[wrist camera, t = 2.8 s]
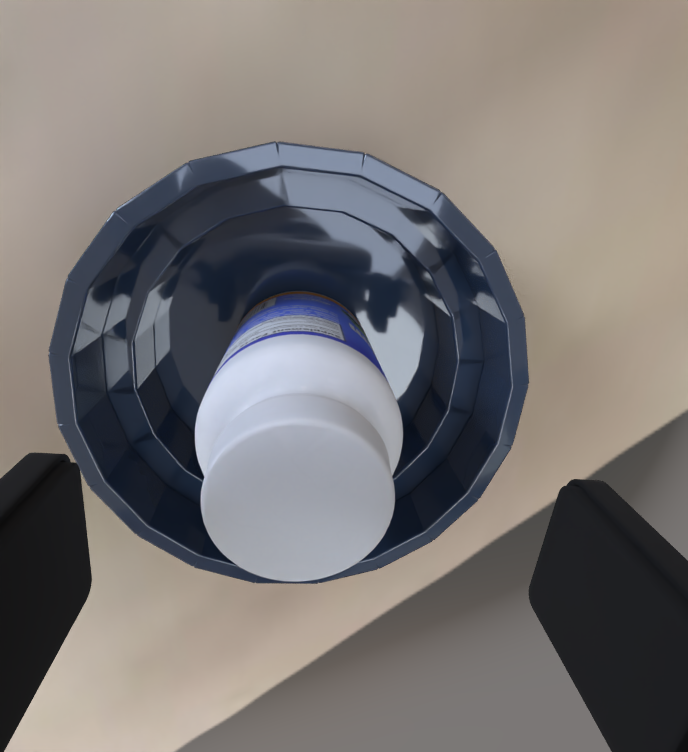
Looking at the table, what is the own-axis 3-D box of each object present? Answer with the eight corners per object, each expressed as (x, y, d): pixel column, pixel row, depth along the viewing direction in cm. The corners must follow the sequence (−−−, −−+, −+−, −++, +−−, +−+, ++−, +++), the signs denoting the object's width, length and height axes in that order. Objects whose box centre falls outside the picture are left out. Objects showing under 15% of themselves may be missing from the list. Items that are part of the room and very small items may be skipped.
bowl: (126, 494, 20) (76, 582, 16) (99, 133, 15) (15, 107, 11) (438, 503, 22) (476, 585, 18) (506, 182, 17) (584, 179, 13)
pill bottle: (372, 408, 20) (437, 592, 11) (243, 425, 19) (197, 628, 10) (362, 278, 18) (431, 369, 9) (218, 295, 17) (132, 407, 8)
